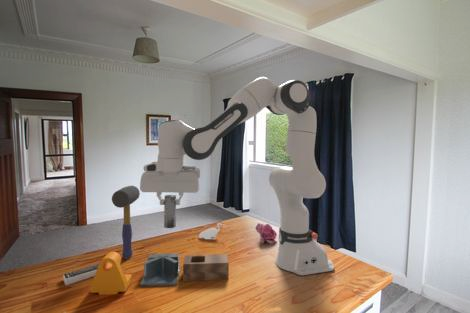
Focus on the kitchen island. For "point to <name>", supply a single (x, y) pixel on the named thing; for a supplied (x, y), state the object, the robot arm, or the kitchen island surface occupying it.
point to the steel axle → (169, 211)
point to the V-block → (161, 270)
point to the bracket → (110, 276)
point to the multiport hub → (80, 274)
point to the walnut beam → (205, 267)
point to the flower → (266, 233)
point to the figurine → (210, 232)
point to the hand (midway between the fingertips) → (170, 204)
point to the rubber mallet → (126, 215)
